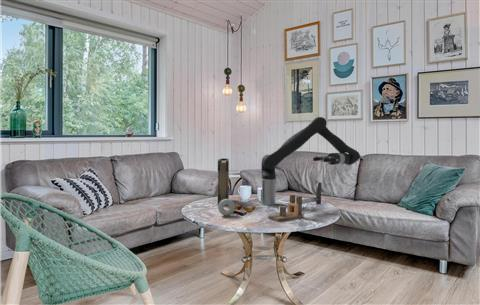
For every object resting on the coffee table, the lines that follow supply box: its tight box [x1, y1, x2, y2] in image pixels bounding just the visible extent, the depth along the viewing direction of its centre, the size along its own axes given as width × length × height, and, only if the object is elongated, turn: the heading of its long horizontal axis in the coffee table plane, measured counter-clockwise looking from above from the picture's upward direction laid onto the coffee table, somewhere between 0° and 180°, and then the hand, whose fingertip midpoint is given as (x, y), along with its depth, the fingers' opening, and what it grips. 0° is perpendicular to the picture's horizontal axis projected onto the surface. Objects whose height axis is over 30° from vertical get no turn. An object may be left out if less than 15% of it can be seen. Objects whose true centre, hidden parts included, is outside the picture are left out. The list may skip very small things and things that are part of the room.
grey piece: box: [302, 182, 322, 205], centre depth 216 cm, size 3×18×13 cm, turn 126°
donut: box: [217, 198, 236, 217], centre depth 209 cm, size 10×4×10 cm, turn 99°
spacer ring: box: [287, 202, 299, 215], centre depth 208 cm, size 7×2×6 cm, turn 36°
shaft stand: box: [267, 194, 305, 223], centre depth 205 cm, size 9×19×12 cm, turn 126°
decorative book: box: [217, 158, 230, 207], centre depth 247 cm, size 23×7×30 cm, turn 0°
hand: (318, 159), depth 221 cm, fingers open, 8 cm apart
